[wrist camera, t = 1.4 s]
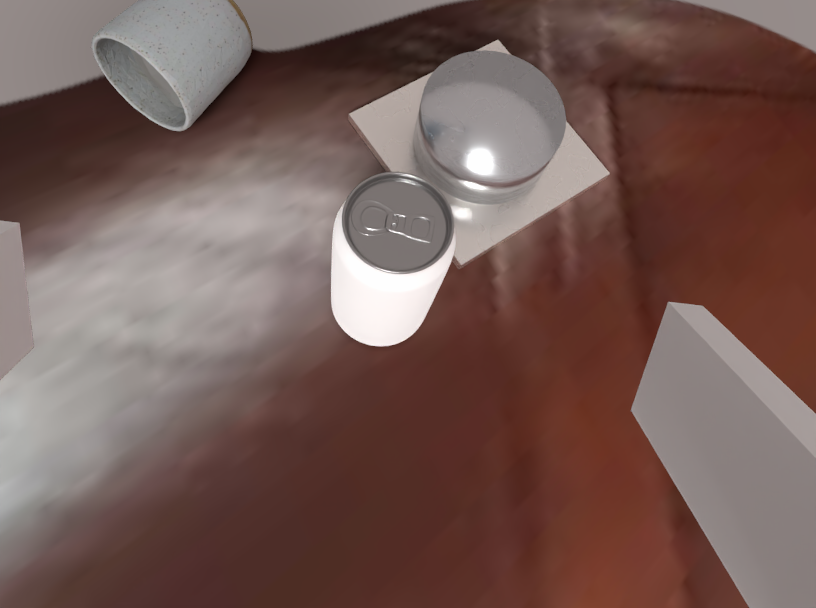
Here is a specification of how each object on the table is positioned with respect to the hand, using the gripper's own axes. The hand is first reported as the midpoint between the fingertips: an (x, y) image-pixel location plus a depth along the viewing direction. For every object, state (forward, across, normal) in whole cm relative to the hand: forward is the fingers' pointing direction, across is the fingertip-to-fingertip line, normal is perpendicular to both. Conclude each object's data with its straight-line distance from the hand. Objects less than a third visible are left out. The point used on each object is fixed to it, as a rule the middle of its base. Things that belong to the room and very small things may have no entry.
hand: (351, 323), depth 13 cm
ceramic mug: (+38, -15, -1) cm, 41 cm away
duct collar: (+36, +8, -3) cm, 37 cm away
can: (+27, +2, -12) cm, 30 cm away
